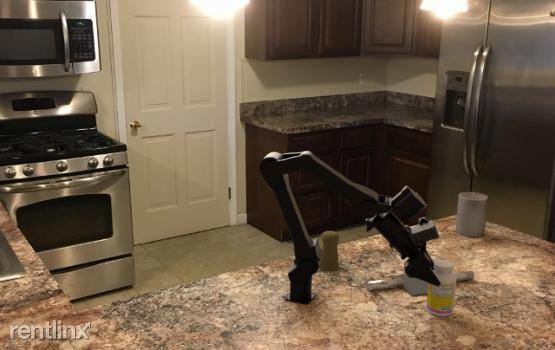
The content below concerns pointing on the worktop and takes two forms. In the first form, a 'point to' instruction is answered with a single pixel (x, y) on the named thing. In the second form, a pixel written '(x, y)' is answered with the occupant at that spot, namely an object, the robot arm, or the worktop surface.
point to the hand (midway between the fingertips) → (437, 277)
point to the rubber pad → (413, 285)
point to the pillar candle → (471, 214)
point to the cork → (329, 252)
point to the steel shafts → (399, 282)
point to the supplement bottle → (442, 290)
